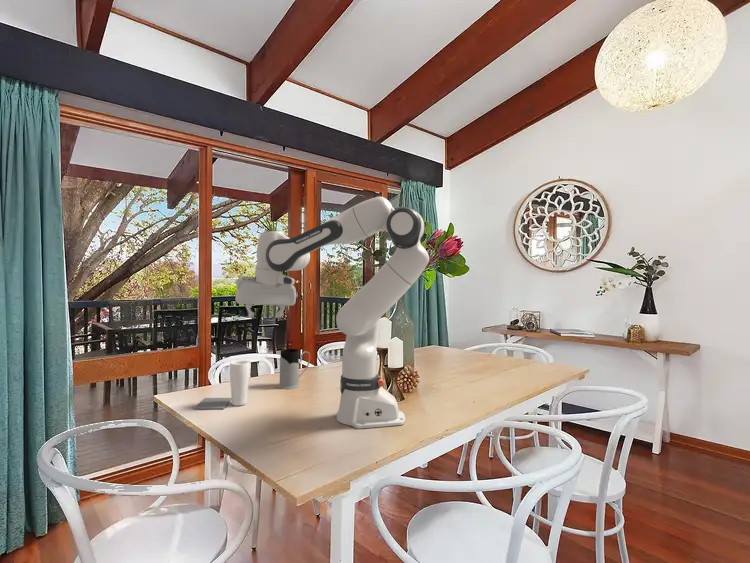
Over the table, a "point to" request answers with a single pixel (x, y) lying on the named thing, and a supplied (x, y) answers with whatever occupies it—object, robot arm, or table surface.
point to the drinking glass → (239, 382)
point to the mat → (212, 404)
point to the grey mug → (290, 368)
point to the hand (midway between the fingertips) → (264, 317)
